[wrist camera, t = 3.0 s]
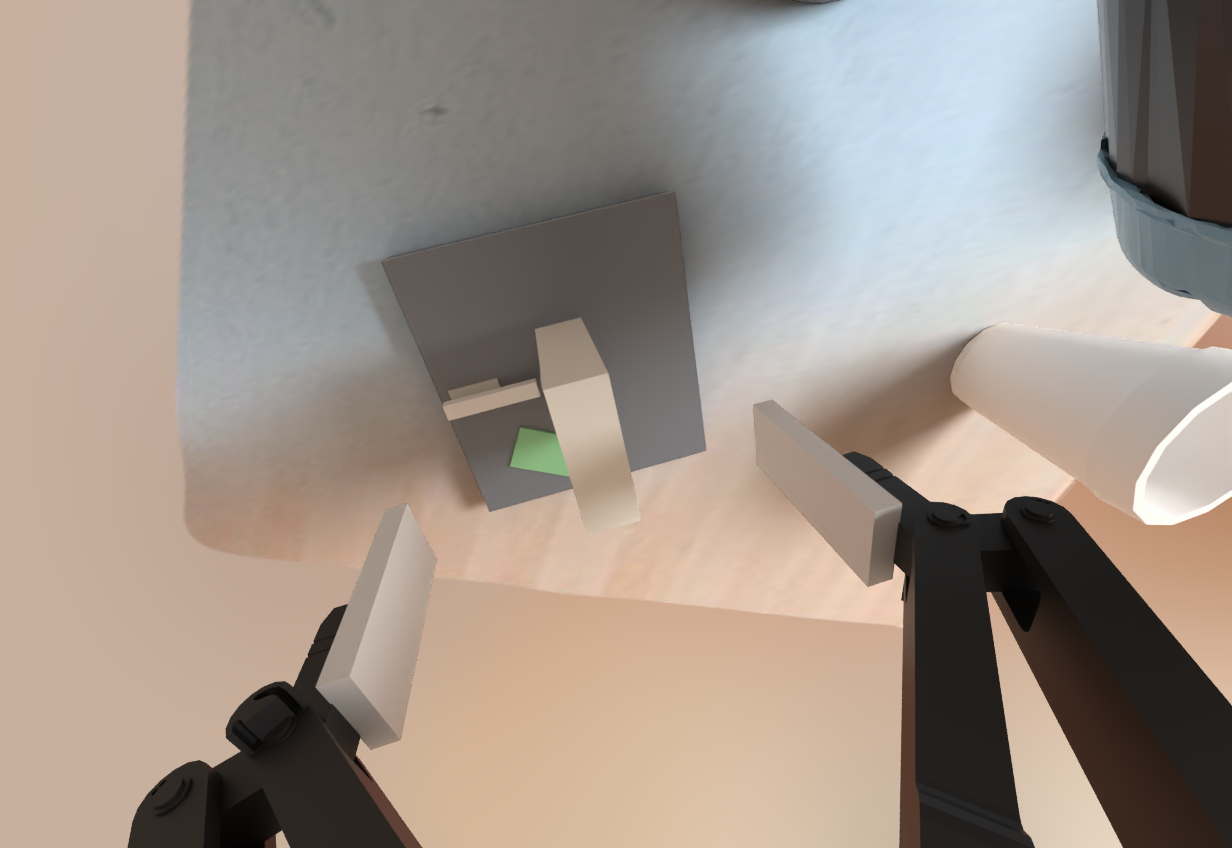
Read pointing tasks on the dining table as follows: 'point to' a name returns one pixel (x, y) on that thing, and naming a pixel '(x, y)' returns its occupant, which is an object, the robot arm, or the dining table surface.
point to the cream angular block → (574, 422)
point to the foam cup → (1110, 413)
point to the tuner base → (549, 294)
